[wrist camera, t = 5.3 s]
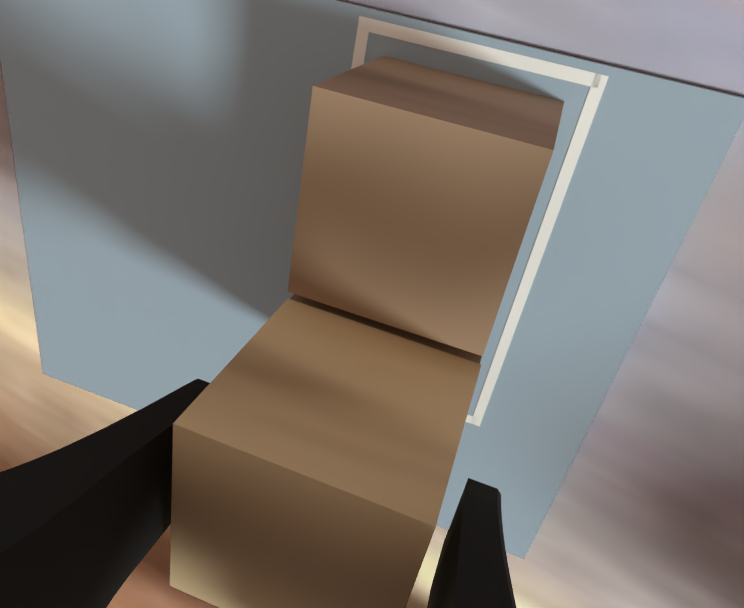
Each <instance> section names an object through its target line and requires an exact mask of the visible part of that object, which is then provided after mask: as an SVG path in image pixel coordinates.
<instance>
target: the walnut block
mask: <svg viewBox="0 0 744 608" xmlns="http://www.w3.org/2000/svg"><path fill="white" fill-rule="evenodd" d="M563 105H564V101H561V100H557V99H553V98H549V97H545V96H541V95H537V94H533V93H529V92H525V91H521V90H517V89H513V88H509V87H505V86H501V85H497V84H493V83H489V82H485V81H481V80H477V79H473V78H469V77H466V76H462V75H458V74H454V73H450V72H446V71H442V70H438V69H434V68H430V67H426V66H422V65H418V64H414V63H410V62H406V61H402V60H398V59H394V58H390V57H386V56H381V57H379V58H376V59H374V60H372V61H369V62H367V63H365V64H363V65H360V66H358V67H356V68H353V69H351V70H349V71H346V72H344V73H342V74H339V75H337V76H335V77H332V78H330V79H328V80H325V81H323V82H321V83H318V84H316V85H314V86H313V89H312V97H311V105H310V113H309V121H308V129H307V137H306V145H305V153H304V162H303V170H302V178H301V186H300V194H299V202H298V210H297V218H296V226H295V234H294V242H293V250H292V259H291V267H290V275H289V283H288V291H287V292H290V293H293V294H296V295H299V296H302V297H305V298H308V299H311V300H314V301H317V302H320V303H323V304H326V305H329V306H332V307H335V308H338V309H341V310H344V311H347V312H350V313H353V314H356V315H360V316H363V317H366V318H369V319H372V320H375V321H378V322H381V323H384V324H387V325H390V326H393V327H396V328H399V329H402V330H405V331H408V332H411V333H414V334H417V335H420V336H423V337H426V338H429V339H432V340H435V341H438V342H441V343H444V344H447V345H450V346H453V347H456V348H459V349H462V350H465V351H468V352H471V353H474V354H477V355H480V356H483V354H484V351H485V348H486V345H487V342H488V339H489V336H490V334H491V331H492V328H493V325H494V322H495V319H496V316H497V313H498V310H499V307H500V304H501V302H502V299H503V296H504V293H505V290H506V287H507V284H508V281H509V278H510V275H511V273H512V270H513V267H514V264H515V261H516V258H517V255H518V252H519V249H520V246H521V244H522V241H523V238H524V235H525V232H526V229H527V226H528V223H529V220H530V217H531V214H532V212H533V209H534V206H535V203H536V200H537V197H538V194H539V191H540V188H541V185H542V183H543V180H544V177H545V174H546V171H547V168H548V165H549V162H550V159H551V156H552V154H553V151H554V146H555V142H556V137H557V133H558V128H559V124H560V119H561V114H562V110H563Z"/></svg>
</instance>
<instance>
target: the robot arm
mask: <svg viewBox="0 0 744 608" xmlns="http://www.w3.org/2000/svg"><path fill="white" fill-rule="evenodd" d="M209 384H210V383H209V382H206V381H204V380H201V379H196V380H194V381H192V382H190V383H188V384H186V385H184V386H182V387H180V388H179V389H177V390H175V391H173V392H171V393H169V394H168V395H166V396H164V397H162V398H160V399H159V400H157V401H155V402H153V403H151V404H149V405H148V406H146V407H144V408H142V409H140V410H138V411H136V412H134V413H133V414H131V415H129V416H127V417H125V418H123V419H121V420H119V421H117V422H115V423H113V424H111V425H109V426H107V427H105V428H103V429H101V430H99V431H97V432H95V433H93V434H91V435H89V436H87V437H85V438H82V439H80V440H78V441H76V442H74V443H72V444H70V445H67V446H65V447H63V448H61V449H59V450H56V451H54V452H52V453H49V454H47V455H45V456H42V457H40V458H37V459H35V460H32V461H30V462H27V463H24V464H22V465H19V466H16V467H14V468H11V469H8V470H6V471H3V472H0V608H106V607H107V606H108V604H109V603H110V601H111V600H112V598H113V597H114V595H115V594H116V593H117V591H118V590H119V589H120V587H121V586H122V584H123V583H124V582H125V580H126V579H127V578H128V576H129V575H130V574H131V573H132V571H133V570H134V569H135V568H136V566H137V565H138V564H139V563H140V561H141V560H142V559H143V558H144V556H145V555H146V554H147V553H148V551H149V550H150V549H151V548H152V546H153V545H154V544H155V543H156V541H157V540H158V539H159V538H160V536H161V535H162V534H163V533H164V531H165V530H166V529H167V528H168V526H169V525H170V524H171V500H172V452H173V423H174V422H175V421H176V420H177V419H178V418H179V417H180V415H181V414H182V413H183V412H184V411H185V410H186V409H187V408H188V407H189V406H190V405H191V403H192V402H193V401H194V400H195V399H196V398H197V397H198V396H199V395H200V394H201V393H202V391H203V390H204V389H205V388H206V387H207V386H208V385H209ZM427 608H516V604H515V599H514V595H513V589H512V584H511V579H510V574H509V568H508V563H507V556H506V550H505V542H504V534H503V525H502V511H501V494H500V492H499V490H498V489H497V488H494V487H492V486H489V485H486V484H484V483H481V482H478V481H475V480H473V479H470V478H468V480H467V483H466V485H465V488H464V490H463V493H462V496H461V498H460V501H459V504H458V506H457V509H456V512H455V514H454V517H453V520H452V522H451V525H450V527H449V530H448V533H447V535H446V538H445V541H444V544H443V547H442V551H441V554H440V558H439V561H438V565H437V568H436V572H435V576H434V579H433V583H432V586H431V590H430V596H429V601H428V607H427Z"/></svg>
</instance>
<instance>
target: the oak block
mask: <svg viewBox="0 0 744 608" xmlns="http://www.w3.org/2000/svg"><path fill="white" fill-rule="evenodd" d="M480 368H481V364H478V363H475V362H472V361H469V360H467V359H464V358H461V357H458V356H455V355H452V354H449V353H446V352H443V351H440V350H437V349H434V348H431V347H429V346H426V345H423V344H420V343H417V342H414V341H411V340H408V339H405V338H402V337H399V336H396V335H394V334H391V333H388V332H385V331H382V330H379V329H376V328H373V327H370V326H367V325H364V324H361V323H359V322H356V321H353V320H350V319H347V318H344V317H341V316H338V315H335V314H332V313H329V312H326V311H323V310H321V309H318V308H315V307H312V306H309V305H306V304H303V303H300V302H297V301H294V300H291V299H287V300H286V301H285V302H284V303H283V304H282V305H281V307H280V308H279V309H278V310H277V311H276V312H275V313H274V314H273V315H272V316H271V317H270V319H269V320H268V321H267V322H266V323H265V324H264V325H263V326H262V327H261V328H260V329H259V331H258V332H257V333H256V334H255V335H254V336H253V337H252V338H251V339H250V340H249V341H248V342H247V344H246V345H245V346H244V347H243V348H242V349H241V350H240V351H239V352H238V353H237V354H236V356H235V357H234V358H233V359H232V360H231V361H230V362H229V363H228V364H227V365H226V366H225V368H224V369H223V370H222V371H221V372H220V373H219V374H218V375H217V376H216V377H215V378H214V380H213V381H212V382H211V383H210V384H209V385H208V386H207V387H206V388H205V389H204V390H203V391H202V393H201V394H200V395H199V396H198V397H197V398H196V399H195V400H194V401H193V402H192V403H191V405H190V406H189V407H188V408H187V409H186V410H185V411H184V412H183V413H182V414H181V415H180V417H179V418H178V419H177V420H176V421H175V422H174V423H173V452H172V500H171V549H170V586H172V587H174V588H176V589H178V590H181V591H183V592H185V593H187V594H190V595H192V596H194V597H196V598H199V599H201V600H203V601H205V602H208V603H210V604H212V605H214V606H217V607H219V608H405V607H406V604H407V602H408V599H409V596H410V594H411V591H412V588H413V586H414V583H415V580H416V578H417V575H418V572H419V570H420V567H421V564H422V562H423V559H424V556H425V554H426V551H427V549H428V546H429V543H430V541H431V538H432V535H433V533H434V530H435V527H436V524H437V520H438V517H439V513H440V510H441V506H442V503H443V499H444V496H445V492H446V488H447V485H448V481H449V478H450V474H451V471H452V467H453V464H454V460H455V457H456V453H457V450H458V446H459V442H460V439H461V435H462V432H463V428H464V425H465V421H466V418H467V414H468V411H469V407H470V404H471V400H472V396H473V393H474V389H475V386H476V382H477V379H478V375H479V372H480Z"/></svg>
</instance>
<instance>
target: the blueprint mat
mask: <svg viewBox="0 0 744 608" xmlns="http://www.w3.org/2000/svg"><path fill="white" fill-rule="evenodd" d="M381 56H386V57H390V58H394V59H398V60H402V61H406V62H410V63H414V64H418V65H422V66H426V67H430V68H434V69H438V70H442V71H446V72H450V73H454V74H458V75H462V76H466V77H469V78H473V79H477V80H481V81H485V82H489V83H493V84H497V85H501V86H505V87H509V88H513V89H517V90H521V91H525V92H529V93H533V94H537V95H541V96H545V97H549V98H553V99H557V100H561V101H564V105H563V110H562V114H561V119H560V124H559V128H558V133H557V137H556V142H555V146H554V151H553V154H552V156H551V159H550V162H549V165H548V168H547V171H546V174H545V177H544V180H543V183H542V185H541V188H540V191H539V194H538V197H537V200H536V203H535V206H534V209H533V212H532V214H531V217H530V220H529V223H528V226H527V229H526V232H525V235H524V238H523V241H522V244H521V246H520V249H519V252H518V255H517V258H516V261H515V264H514V267H513V270H512V273H511V275H510V278H509V281H508V284H507V287H506V290H505V293H504V296H503V299H502V302H501V304H500V307H499V310H498V313H497V316H496V319H495V322H494V325H493V328H492V331H491V334H490V336H489V339H488V342H487V345H486V348H485V351H484V354H483V356H482V358H481V361H480V364H481V368H480V372H479V375H478V379H477V382H476V386H475V389H474V393H473V396H472V400H471V404H470V407H469V411H468V414H467V418H466V421H465V425H464V428H463V432H462V435H461V439H460V442H459V446H458V450H457V453H456V457H455V460H454V464H453V467H452V471H451V474H450V478H449V481H448V485H447V488H446V492H445V496H444V499H443V503H442V506H441V510H440V513H439V517H438V520H437V524H436V525H437V526H440V527H443V528H445V529H448V530H449V527H450V525H451V522H452V520H453V517H454V514H455V512H456V509H457V506H458V504H459V501H460V498H461V496H462V493H463V490H464V488H465V485H466V483H467V480H468V478H470V479H473V480H475V481H478V482H481V483H484V484H486V485H489V486H492V487H494V488H497V489H498V490H499V492H500V494H501V511H502V525H503V534H504V542H505V550H506V552H508V553H510V554H513V555H515V556H518V557H521V558H523V559H524V558H525V556H526V553H527V551H528V549H529V547H530V545H531V543H532V541H533V539H534V537H535V535H536V533H537V531H538V529H539V527H540V525H541V523H542V521H543V519H544V517H545V515H546V513H547V511H548V509H549V507H550V505H551V503H552V501H553V499H554V497H555V495H556V493H557V491H558V489H559V487H560V485H561V483H562V481H563V479H564V477H565V475H566V473H567V471H568V469H569V467H570V465H571V463H572V461H573V459H574V457H575V455H576V453H577V451H578V449H579V447H580V445H581V443H582V441H583V439H584V437H585V435H586V433H587V431H588V429H589V427H590V425H591V423H592V421H593V419H594V417H595V415H596V413H597V411H598V409H599V407H600V405H601V403H602V401H603V399H604V397H605V395H606V393H607V391H608V389H609V387H610V385H611V383H612V381H613V379H614V377H615V375H616V373H617V371H618V369H619V367H620V365H621V363H622V361H623V359H624V357H625V355H626V353H627V351H628V349H629V347H630V345H631V343H632V341H633V339H634V337H635V335H636V333H637V331H638V329H639V327H640V325H641V323H642V321H643V319H644V317H645V315H646V313H647V311H648V309H649V307H650V305H651V303H652V301H653V299H654V297H655V295H656V293H657V291H658V289H659V287H660V285H661V283H662V281H663V279H664V277H665V275H666V273H667V271H668V269H669V267H670V265H671V263H672V261H673V259H674V257H675V255H676V253H677V251H678V249H679V247H680V245H681V243H682V241H683V239H684V237H685V235H686V233H687V231H688V229H689V227H690V225H691V223H692V221H693V219H694V217H695V215H696V213H697V211H698V209H699V207H700V205H701V203H702V201H703V199H704V197H705V195H706V193H707V191H708V189H709V187H710V185H711V183H712V181H713V179H714V177H715V175H716V173H717V171H718V169H719V167H720V165H721V163H722V161H723V159H724V157H725V155H726V153H727V151H728V149H729V147H730V145H731V143H732V141H733V139H734V137H735V135H736V133H737V131H738V129H739V127H740V125H741V123H742V121H743V119H744V97H741V96H736V95H732V94H728V93H724V92H720V91H715V90H711V89H707V88H703V87H699V86H695V85H690V84H686V83H682V82H678V81H674V80H669V79H665V78H661V77H657V76H653V75H649V74H644V73H640V72H636V71H632V70H628V69H623V68H619V67H615V66H611V65H607V64H603V63H598V62H594V61H590V60H586V59H582V58H577V57H573V56H569V55H565V54H561V53H557V52H552V51H548V50H544V49H540V48H536V47H532V46H527V45H523V44H519V43H515V42H511V41H506V40H502V39H498V38H494V37H490V36H486V35H481V34H477V33H473V32H469V31H465V30H460V29H456V28H452V27H448V26H444V25H440V24H435V23H431V22H427V21H423V20H419V19H414V18H410V17H406V16H402V15H398V14H394V13H389V12H385V11H381V10H377V9H373V8H368V7H364V6H360V5H356V4H352V3H348V2H343V1H339V0H0V61H1V68H2V75H3V83H4V90H5V98H6V105H7V112H8V120H9V127H10V134H11V142H12V149H13V157H14V164H15V171H16V179H17V186H18V193H19V201H20V208H21V215H22V223H23V230H24V238H25V245H26V252H27V260H28V267H29V274H30V282H31V289H32V297H33V304H34V311H35V319H36V326H37V333H38V341H39V348H40V355H41V363H42V370H43V374H45V375H48V376H50V377H53V378H56V379H58V380H61V381H63V382H66V383H69V384H71V385H74V386H76V387H79V388H82V389H84V390H87V391H89V392H92V393H95V394H97V395H100V396H102V397H105V398H108V399H110V400H113V401H115V402H118V403H121V404H123V405H126V406H128V407H131V408H134V409H136V410H140V409H142V408H144V407H146V406H148V405H149V404H151V403H153V402H155V401H157V400H159V399H160V398H162V397H164V396H166V395H168V394H169V393H171V392H173V391H175V390H177V389H179V388H180V387H182V386H184V385H186V384H188V383H190V382H192V381H194V380H196V379H201V380H204V381H206V382H209V383H211V382H212V381H213V380H214V378H215V377H216V376H217V375H218V374H219V373H220V372H221V371H222V370H223V369H224V368H225V366H226V365H227V364H228V363H229V362H230V361H231V360H232V359H233V358H234V357H235V356H236V354H237V353H238V352H239V351H240V350H241V349H242V348H243V347H244V346H245V345H246V344H247V342H248V341H249V340H250V339H251V338H252V337H253V336H254V335H255V334H256V333H257V332H258V331H259V329H260V328H261V327H262V326H263V325H264V324H265V323H266V322H267V321H268V320H269V319H270V317H271V316H272V315H273V314H274V313H275V312H276V311H277V310H278V309H279V308H280V307H281V305H282V304H283V303H284V302H285V301H286V300H287V299H290V298H291V297H292V296H293V295H294V294H293V293H290V292H287V291H288V283H289V275H290V267H291V259H292V250H293V242H294V234H295V226H296V218H297V210H298V202H299V194H300V186H301V178H302V170H303V162H304V153H305V145H306V137H307V129H308V121H309V113H310V105H311V97H312V89H313V86H314V85H316V84H318V83H321V82H323V81H325V80H328V79H330V78H332V77H335V76H337V75H339V74H342V73H344V72H346V71H349V70H351V69H353V68H356V67H358V66H360V65H363V64H365V63H367V62H369V61H372V60H374V59H376V58H379V57H381Z"/></svg>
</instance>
